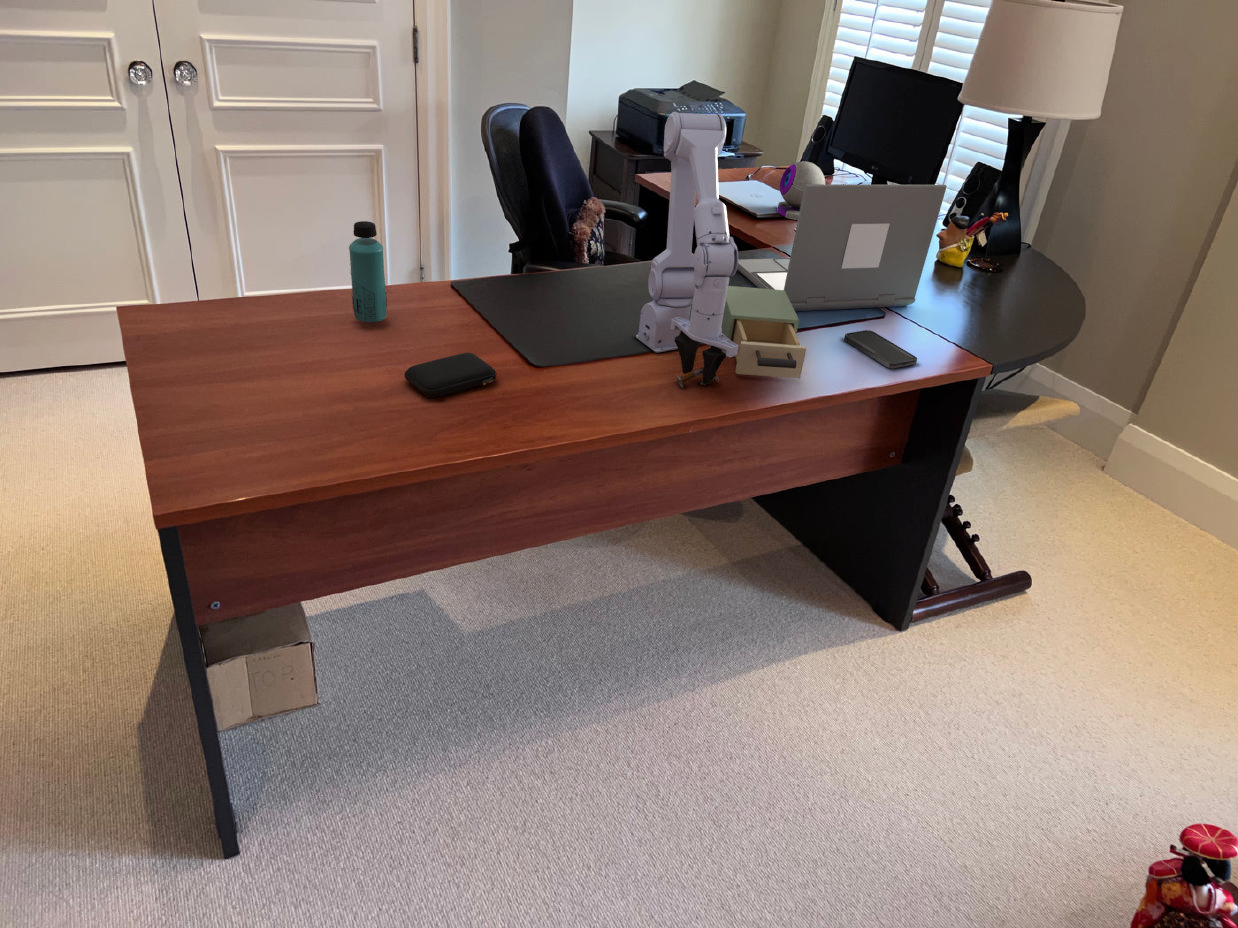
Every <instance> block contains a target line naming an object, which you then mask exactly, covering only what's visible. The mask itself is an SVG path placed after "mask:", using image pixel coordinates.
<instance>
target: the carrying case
mask: <svg viewBox="0 0 1238 928" xmlns="http://www.w3.org/2000/svg"><path fill="white" fill-rule="evenodd" d="M403 375H404V378H405V379H404V380H406V381H407V382H409V384H411V385H412V386H414V388H416V389H417V390H418V391H419V392H420V393H421V394H423V395H424V396H426V397H427V398H431V399H435V398H439V397H444V396H447V395H451V394H455V393H459V392H463V391H466V390H469V389H474V388H476V387H483V388H484V387H485V386H487V385H489V384H491V383H493V382H494V381H495V380H496V378H497V375H498V374H497V371H496V370H495V368H494V367H493V366H492V365H490V364H488V363H487V362H486V361H485V360H483V359H482V358H481V357H479V356H478V355H476V354H475V353H473V352H463V353H458V354H454V355H450V356H449V355H448V356H445V357H442V358H438V359H433V360H429V361H426V362H422V363H418V364H414V365H411V366H410V367H408V368H407V369H406V371H404V374H403Z"/></svg>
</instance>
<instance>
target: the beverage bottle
mask: <svg viewBox="0 0 1238 928" xmlns="http://www.w3.org/2000/svg"><path fill="white" fill-rule="evenodd" d="M352 232H353V236H354V237H357V238H355V240H353V241H352V242H351V243H350V244H349V245H348V250H349V259H350V260H349V261H350V264H349V265H350V272H349V274H350V277H351V278H350V279H351V294H352V295H351V300H352V303H351V304H352V311H353V315H354V318H355V320H358V321H359V322H364V323H378V322H382V321H383V320H385V319H386V318H387V315H388V301H387V300H388V298H387V290H386V288H387V283H386V277H385V264H384V263H385V262H384V245H383V244H382V243H381V242H380V241H379V240H377V239H375V238H374V237H376V236H377V226H376V224H375V222H372V221H368V220H362V221H356V222H354V223H353V231H352Z"/></svg>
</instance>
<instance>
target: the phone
mask: <svg viewBox="0 0 1238 928" xmlns="http://www.w3.org/2000/svg"><path fill="white" fill-rule="evenodd" d="M843 341H845V342H846V343H848V344H849V345H851V346H852V347H854V348H855V349H856V350H858V351H860V352H862V353H864V354H865V355H866V356H868V357H870V358H871V359H873V360H875V361H876V362H878V363H879V364H881V365H883V366H884V367H886V368H888V369H892V370H893V369H900V368H905V367H911V366H915V365H916V364H917V361H918V357H917V356H915V355H914V354H912V353H911V352H909V351H907V350H905V349H904V348H902V347H900V346H899V345H897V344H896V343H893V342H892V341H890V340H889V339H887V338H885V337H884V336H882V335H880V334H879V333H877V332H875V331H873V330H870V329H864V330H858V331H853V332H846V333H844V337H843Z"/></svg>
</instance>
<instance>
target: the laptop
mask: <svg viewBox="0 0 1238 928" xmlns="http://www.w3.org/2000/svg"><path fill="white" fill-rule="evenodd" d="M947 188H948V185H947V184H851V183H849V184H845V183H844V184H839V183H837V184H829V183H827V184H826V183H825V184H805V188H804V193H803V198H802V202H801V207H800V212H799V217H798V220H797V223H796V227H795V234H794V237H793V242H792V246H791V251H790V257H779V258H778V257H777V258H776V257H775V258H748V259H747V258H746V259H745V258H744V259H742V258H741V259H738V266H737V271H738V272H740V274H742V275H743V276H744V277H745V278H746V279H747V280H748V281H749V282H751V283H752V284H753V285H754V286H755V287H756V288H761V289H774V290H785V292H786V294H787V296H788V298H789V300H790V302H791V304H792V307H793V309H794V311H795V312H804V311H827V310H845V309H846V310H847V309H866V308H867V309H869V308H889V307H890V308H891V307H892V308H893V307H908V306H910V305H912V304H914V303H915V302H916V295H917V291H918V288H919V285H920V281H921V278H922V274H923V270H924V267H925V264H926V260H927V256H928V253H929V250H930V247H931V243H932V240H933V236H934V232H935V230H936V229H935V228H936V225H937V222H938V218H939V215H940V212H941V208H942V205H943V201H944V197H945V193H946V191H947Z"/></svg>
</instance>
